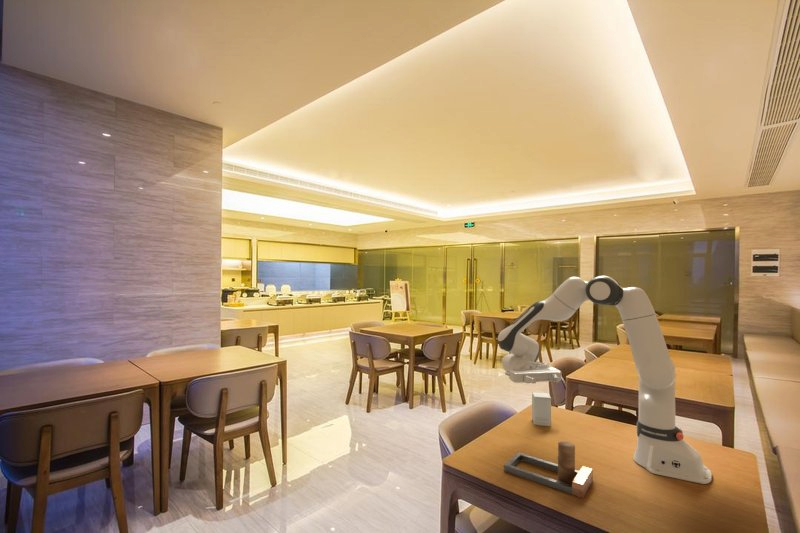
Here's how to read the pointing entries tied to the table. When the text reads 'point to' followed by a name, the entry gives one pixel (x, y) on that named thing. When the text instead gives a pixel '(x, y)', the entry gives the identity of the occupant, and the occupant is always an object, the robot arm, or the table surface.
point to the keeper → (566, 462)
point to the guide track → (577, 487)
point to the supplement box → (541, 409)
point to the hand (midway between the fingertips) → (546, 380)
